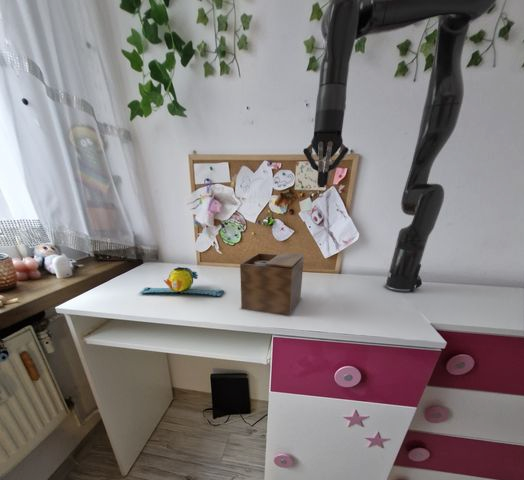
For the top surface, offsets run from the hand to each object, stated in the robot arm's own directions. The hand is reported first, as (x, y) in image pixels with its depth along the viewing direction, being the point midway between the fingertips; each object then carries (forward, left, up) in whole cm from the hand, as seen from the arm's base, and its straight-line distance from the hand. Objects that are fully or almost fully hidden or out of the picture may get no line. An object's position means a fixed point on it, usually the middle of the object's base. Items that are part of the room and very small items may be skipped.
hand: (322, 187), depth 81 cm
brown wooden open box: (+10, +16, -32) cm, 37 cm away
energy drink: (+13, +16, -32) cm, 38 cm away
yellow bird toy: (+42, +17, -32) cm, 56 cm away
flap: (+6, +16, -18) cm, 25 cm away
